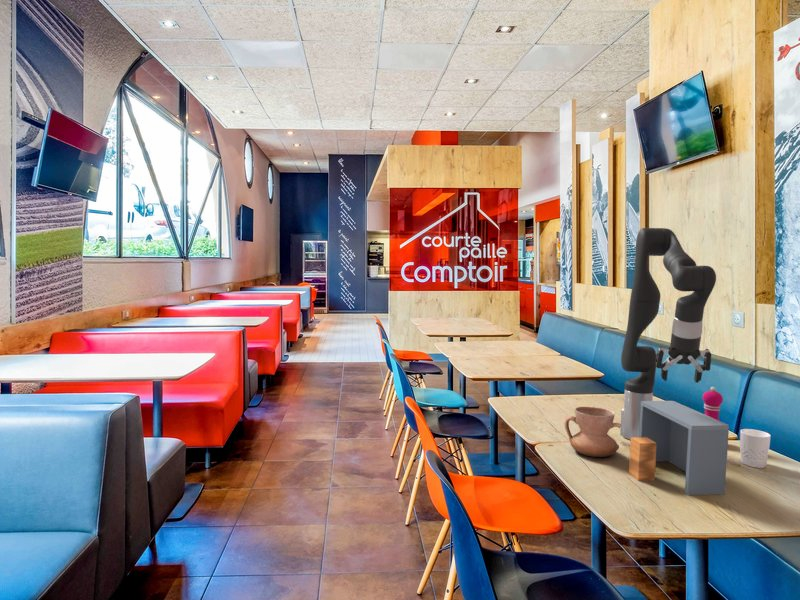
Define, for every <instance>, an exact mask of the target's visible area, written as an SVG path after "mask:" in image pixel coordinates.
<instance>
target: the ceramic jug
mask: <svg viewBox="0 0 800 600" xmlns="http://www.w3.org/2000/svg"><path fill="white" fill-rule="evenodd" d="M574 413H575V416H574V415H569V416H567V417H566V418H564V424H563V425H564V429H565V432H566V434H567V436H568V439H569V440H568V441H569V442H570V446H571V447H572V449H573V450H575V451H577V452H578V453H579V454H582V455H585V456H587V457H588V456H589V457H592V458H605V457H609V456H611V455H614V454H615V453H616V452H617V451H618V450H619V449H620V445H619V444H618V442H617V441H616V440H615V439H614V438H613V437H611V435H609V434H608V433H609V431H610V430H611V429H613V428H618V429H620V428H621V426H622V425H621V422H620V423H619V422H614V419H615V412H614V411H613V410H611V409H607V408H604V407H595V406H577V407H575V409H574ZM570 421H572V422H574V423H575V424H576V425H578V427H579V430H580V431H578V432H577V433H575V434H574V435H572V433H571V429H570V425H569V424H570Z"/></svg>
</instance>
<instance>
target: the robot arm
mask: <svg viewBox="0 0 800 600" xmlns="http://www.w3.org/2000/svg"><path fill="white" fill-rule="evenodd" d="M634 254H635V256H634V257H635V258H634V271H633V280H632V287H631V293H630V300H629V306H628V307H629V309H628V317H627V325H626V332H625V335H624V336H625V337H624V340H623V345H622V351H621V354H620V355H621V358H620V363H621V368H622V369H623V370H624V371H625V372H629V373H631V372H632V373H639V375H638V376H635V377H634V378H631V379H628V380H626V381H625V382H624V396H623V397H624V398H623V399H624V400H623V408H621V411H620V412H621V414H620V424H621V425H622V426H621V427H620V428H619V429H620V431H619V432H620V435H621V436H622V437H623V438H625V439H626V440H631V437H639V430H640V410H641V401H654V400H653V398H654V388H655V387H654V386H655V381H656V370H657V369H661V371H660V377H661V380H663V381H664V382H667V380H668V374H669V373H668V372H669V370H668V369H669V368H671V367H673V366H675V364H677V365H690V364H692V365H693V367H694V368H695V370H694V376H693V379H694V382H695V383H697V384H698V383H699V382H701V380H702V377H703V372H704V371H707V372H708V371H709V372H710V370H711V363H712V353H711V351H710V350H709V348H705V349H704V350H700V348H701V347H700V346H701V341H702V334H703V318H704V311H705V306H706V304H707V303H708V302H707V301H708V300H709V297H710V295H711V294H712V292H713V289H714V288H715V285H716V282H717V273H716V271H715V269H714V268H713V267H712V266H710V265H697V263H696V261H695V260H694V259H693V258H692V257H691V256H690V255H689V254H688V253H687V252H685V250H684V249H683V247H682V244H681V242H680V241H679V239H678V237H677V235H676V234H675V232H674V231H673V230H672V229H670V228H667V227H666V228H665V227H662V228H661V227H643V228H640V229H639V231H638V232H637V235H636V240H635V253H634ZM649 256H650V257H652V256H653V257H662V256H663V258H662V261H663V262H662V263H663V266H664V268H665V269H666V270H667V272H668V273H670V275H671V280H672V285H673V287H674V289H676V290H677V291H679V292H684V293H685V292H692V293H690V294H688V295H684V296H681V297H679V298H678V299H677V301H676V302H675V303H676V304H675V311H674V318H673V321H672V326H671V327H672V329H671V334H670V335H671V336H670V342H669V343H670V344H669V345H670V346H669V347H668V348H663V347H662V346H659V347H657V349H655V348H654V347H653V346H648V345H647V346H646V345H638V342H639V339H640V338H641V336H642V334H643V332H644V331H645V330H646V329H647V328H648V327H649V326H650V325H651V324H652V323H653V321H654V320H655V319H656V317H657V315H658V313H659V310H660V303H661V292H660V288H659V287H658V285H657V283H656V282H655V280H654V278H653V277H652V274H651V272H650V269H649V265H648V264H649V261H648V260H649V259H648V258H649ZM667 354H668V355H669V356H667V357H666V359H665V360H664V361H663V357H665V356H666V355H667ZM699 357H702V358H703V364H700V363H699V362H698V360H697V359H698V358H699Z"/></svg>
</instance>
